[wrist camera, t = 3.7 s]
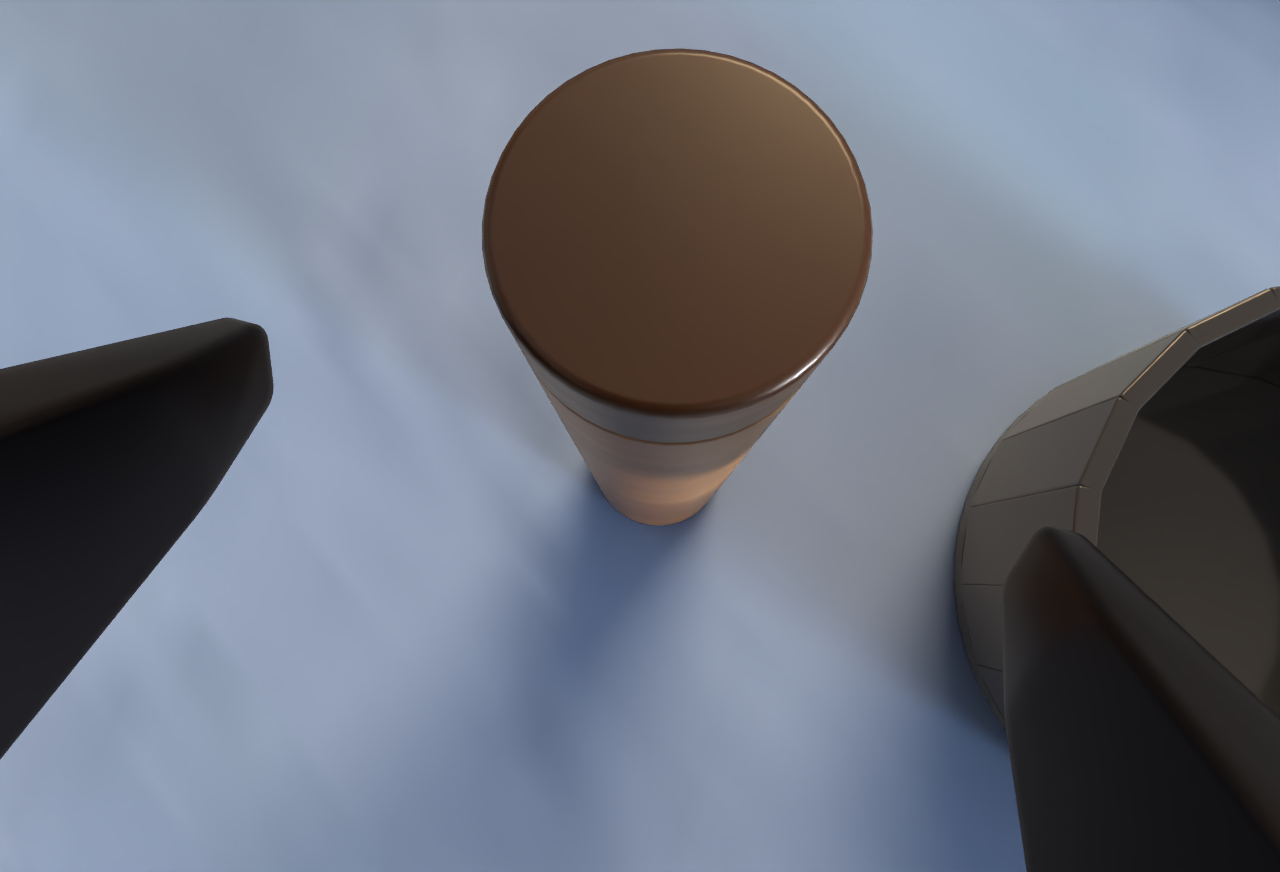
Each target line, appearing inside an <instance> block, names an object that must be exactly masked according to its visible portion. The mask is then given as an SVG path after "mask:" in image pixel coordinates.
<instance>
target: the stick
mask: <svg viewBox="0 0 1280 872" xmlns="http://www.w3.org/2000/svg"><path fill="white" fill-rule="evenodd" d="M872 236H873V230H872V219H871V208H870V204H869V200H868V195H867V191H866V187H865V183H864V180H863V178H862V175H861V173H860V170H859V167H858V165H857V162H856V159H855V157H854V156H853V154H852V152H851V150H850V148H849V146H848V145H847V143H846V141H845V139H844V137H843V136H842V135H841V133H840V132H839V131H838V129H837V128H836V126H835V125H834V124H833V122H832V121H831V120H830V118H829V117H828V116H827V115H826V114H825V113H824V112H823V111H822V110H821V109H820V108H819V107H818V106H817V105H816V104H815V102H814V101H812V100H811V99H810V98H809V97H808V96H806V95H805V94H804V93H803V92H801V91H800V90H799V89H798V88H796V87H795V86H794V85H792V84H791V83H789V82H787V81H786V80H784V79H783V78H781V77H780V76H778V75H776V74H775V73H773V72H771V71H769V70H766V69H764V68H762V67H760V66H758V65H756V64H754V63H751V62H748V61H745V60H742V59H739V58H736V57H733V56H730V55H725V54H720V53H715V52H710V51H705V50H692V49H660V50H651V51H645V52H639V53H632V54H629V55H625V56H622V57H618V58H615V59H611V60H608V61H606V62H604V63H601V64H599V65H597V66H594V67H592V68H589V69H587V70H585V71H584V72H582V73H580V74H578V75H577V76H575V77H573V78H571V79H570V80H568V81H566V82H565V83H563V84H562V85H561V86H559V87H558V88H557V89H555V90H554V91H553V92H551V93H550V94H549V95H547V96H546V97H545V98H544V99H543V100H542V101H541V102H540V103H539V104H538V105H537V106H536V107H535V108H534V109H533V110H532V111H531V112H530V113H529V114H528V116H527V117H526V118H525V119H524V121H523V122H522V123H521V124H520V126H519V127H518V128H517V129H516V131H515V132H514V134H513V135H512V137H511V139H510V140H509V142H508V144H507V145H506V147H505V149H504V151H503V152H502V154H501V156H500V159H499V161H498V163H497V166H496V168H495V170H494V173H493V175H492V177H491V181H490V185H489V188H488V192H487V195H486V199H485V205H484V213H483V220H482V250H483V257H484V264H485V271H486V275H487V278H488V282H489V285H490V289H491V292H492V295H493V298H494V300H495V302H496V304H497V306H498V309H499V311H500V313H501V315H502V318H503V319H504V321H505V323H506V325H507V326H508V328H509V330H510V332H511V333H512V335H513V337H514V339H515V340H516V342H517V344H518V346H519V347H520V349H521V351H522V353H523V354H524V356H525V358H526V359H527V361H528V363H529V365H530V367H531V368H532V370H533V372H534V374H535V375H536V377H537V379H538V380H539V382H540V384H541V386H542V387H543V389H544V391H545V393H546V394H547V396H548V398H549V400H550V401H551V403H552V405H553V407H554V408H555V410H556V412H557V414H558V415H559V417H560V419H561V421H562V422H563V424H564V426H565V428H566V429H567V431H568V433H569V435H570V436H571V438H572V440H573V442H574V443H575V445H576V447H577V449H578V450H579V452H580V454H581V456H582V457H583V459H584V461H585V463H586V464H587V466H588V468H589V469H590V471H591V473H592V475H593V476H594V478H595V480H596V482H597V483H598V485H599V487H600V489H601V490H602V492H603V494H604V495H605V497H606V499H607V500H608V501H609V502H610V504H611V505H612V506H613V507H614V508H615V509H616V510H617V511H618V512H620V513H621V514H623V515H624V516H626V517H627V518H629V519H631V520H633V521H636V522H639V523H642V524H647V525H655V526H659V525H670V524H674V523H678V522H681V521H683V520H685V519H687V518H689V517H691V516H692V515H694V514H696V513H697V512H698V511H699V510H700V509H702V508H703V506H704V505H705V504H706V503H707V502H708V501H709V500H710V498H711V497H712V496H713V495H714V493H715V492H716V491H717V490H718V488H719V487H720V486H721V485H722V484H723V482H724V481H725V480H726V479H727V477H728V476H729V475H730V474H731V472H732V471H733V470H734V469H735V467H736V466H737V465H738V464H739V463H740V461H741V460H742V459H743V458H744V456H745V455H746V454H747V453H748V451H749V450H750V449H751V448H752V446H753V445H754V444H755V443H756V442H757V440H758V439H759V438H760V437H761V435H762V434H763V433H764V432H765V430H766V429H767V428H768V427H769V426H770V424H771V423H772V422H773V421H774V419H775V418H776V417H777V416H778V414H779V413H780V412H781V411H782V409H783V408H784V407H785V406H786V405H787V403H788V402H789V401H790V400H791V398H792V397H793V396H794V395H795V393H796V392H797V391H798V390H799V388H800V387H801V386H802V385H803V383H804V382H805V381H806V380H807V379H808V377H809V376H810V375H811V374H812V372H813V371H814V370H815V369H816V367H817V366H818V365H819V364H820V363H821V361H822V360H823V359H824V358H825V356H826V355H827V354H828V353H829V351H830V350H831V349H832V348H833V346H834V345H835V344H836V342H837V341H838V339H839V338H840V336H841V335H842V334H843V332H844V331H845V329H846V328H847V326H848V324H849V322H850V321H851V319H852V317H853V315H854V313H855V311H856V309H857V307H858V305H859V302H860V299H861V296H862V293H863V290H864V288H865V285H866V282H867V277H868V272H869V267H870V262H871V257H872Z"/></svg>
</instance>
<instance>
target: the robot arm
mask: <svg viewBox="0 0 1280 872" xmlns="http://www.w3.org/2000/svg"><path fill="white" fill-rule="evenodd" d="M272 395H273V376H272V368H271V359H270V351H269V342H268V337H267V334H266V332H265V330H264V329H263V328H262V327H261V326H259V325H257V324H253V323H249V322H245V321H241V320H237V319H233V318H221V319H217V320H213V321H208V322H204V323H200V324H195V325H191V326H187V327H182V328H178V329H173V330H169V331H165V332H160V333H156V334H152V335H147V336H143V337H139V338H134V339H130V340H125V341H121V342H117V343H112V344H108V345H104V346H99V347H95V348H91V349H86V350H82V351H77V352H73V353H69V354H64V355H60V356H56V357H51V358H47V359H43V360H38V361H34V362H30V363H25V364H21V365H16V366H12V367H8V368H3V369H0V759H1V758H2V757H3V755H4V754H5V753H6V752H7V750H8V749H9V748H10V747H11V745H12V744H13V743H14V742H15V741H16V739H17V738H18V737H19V736H20V734H21V733H22V732H23V731H24V729H25V728H26V727H27V726H28V724H29V723H30V722H31V721H32V719H33V718H34V717H35V716H36V715H37V713H38V712H39V711H40V710H41V708H42V707H43V706H44V705H45V703H46V702H47V701H48V700H49V698H50V697H51V696H52V695H53V693H54V692H55V691H56V690H57V688H58V687H59V686H60V685H61V684H62V682H63V681H64V680H65V679H66V677H67V676H68V675H69V674H70V672H71V671H72V670H73V669H74V667H75V666H76V665H77V664H78V662H79V661H80V660H81V659H82V658H83V656H84V655H85V654H86V653H87V651H88V650H89V649H90V648H91V646H92V645H93V644H94V643H95V641H96V640H97V639H98V638H99V636H100V635H101V634H102V633H103V631H104V630H105V629H106V628H107V627H108V625H109V624H110V623H111V622H112V620H113V619H114V618H115V617H116V615H117V614H118V613H119V612H120V610H121V609H122V608H123V607H124V605H125V604H126V603H127V602H128V601H129V599H130V598H131V597H132V596H133V594H134V593H135V592H136V591H137V589H138V588H139V587H140V586H141V584H142V583H143V582H144V581H145V579H146V578H147V577H148V576H149V574H150V573H151V572H152V571H153V570H154V568H155V567H156V566H157V565H158V563H159V562H160V561H161V560H162V558H163V557H164V556H165V555H166V553H167V552H168V551H169V550H170V548H171V547H172V546H173V545H174V543H175V542H176V541H177V540H178V539H179V537H180V536H181V535H182V534H183V532H184V531H185V530H186V529H187V527H188V526H189V525H190V524H191V522H192V521H193V520H194V519H195V517H196V516H197V515H198V513H199V512H200V511H201V509H202V508H203V507H204V505H205V504H206V503H207V501H208V500H209V498H210V497H211V496H212V494H213V493H214V491H215V490H216V488H217V487H218V485H219V484H220V482H221V480H222V479H223V477H224V476H225V474H226V472H227V471H228V469H229V468H230V466H231V465H232V463H233V461H234V460H235V458H236V457H237V455H238V454H239V452H240V450H241V449H242V447H243V446H244V444H245V442H246V441H247V439H248V438H249V436H250V435H251V433H252V431H253V430H254V428H255V427H256V425H257V423H258V422H259V420H260V419H261V417H262V416H263V414H264V412H265V411H266V409H267V408H268V406H269V404H270V401H271V399H272ZM1002 628H1003V677H1004V707H1005V721H1006V730H1007V738H1008V745H1009V752H1010V759H1011V766H1012V773H1013V780H1014V787H1015V794H1016V800H1017V807H1018V814H1019V821H1020V828H1021V835H1022V842H1023V849H1024V856H1025V863H1026V870H1027V872H1280V718H1279V717H1278V716H1277V715H1276V714H1275V713H1274V712H1273V711H1272V710H1271V709H1270V708H1269V707H1268V706H1267V705H1265V704H1264V703H1263V702H1262V701H1261V700H1260V699H1259V698H1258V697H1257V696H1256V695H1255V694H1254V693H1253V692H1251V691H1250V690H1249V689H1248V688H1247V687H1246V686H1245V685H1244V684H1243V683H1242V682H1241V681H1240V680H1239V679H1237V678H1236V677H1235V676H1234V675H1233V674H1232V673H1231V672H1230V671H1229V670H1228V669H1227V668H1226V667H1225V666H1223V665H1222V664H1221V663H1220V662H1219V661H1218V660H1217V659H1216V658H1215V657H1214V656H1213V655H1212V654H1211V653H1209V652H1208V651H1207V650H1206V649H1205V648H1204V647H1203V646H1202V645H1201V644H1200V643H1199V642H1198V641H1197V640H1196V639H1194V638H1193V637H1192V636H1191V635H1190V634H1189V633H1188V632H1187V631H1186V630H1185V629H1184V628H1183V627H1182V626H1180V625H1179V624H1178V623H1177V622H1176V621H1175V620H1174V619H1173V618H1172V617H1171V616H1170V615H1169V614H1168V613H1166V612H1165V611H1164V610H1163V609H1162V608H1161V607H1160V606H1159V605H1158V604H1157V603H1156V602H1155V601H1154V600H1153V599H1151V598H1150V597H1149V596H1148V595H1147V594H1146V593H1145V592H1144V591H1143V590H1142V589H1141V588H1140V587H1139V586H1137V585H1136V584H1135V583H1134V582H1133V581H1132V580H1131V579H1130V578H1129V577H1128V576H1127V575H1126V574H1125V573H1124V572H1122V571H1121V570H1120V569H1119V568H1118V567H1117V566H1116V565H1115V564H1114V563H1113V562H1112V561H1111V560H1110V559H1108V558H1107V557H1106V556H1105V555H1104V554H1103V553H1102V552H1101V551H1100V550H1099V549H1098V548H1097V547H1096V546H1094V545H1093V544H1092V543H1091V542H1090V541H1089V540H1088V539H1087V538H1086V537H1085V536H1083V535H1082V534H1079V533H1077V532H1073V531H1069V530H1065V529H1061V528H1057V527H1053V526H1048V525H1047V526H1043V527H1040V528H1039V529H1038V530H1036V531H1035V533H1034V534H1033V535H1032V537H1031V538H1030V540H1029V541H1028V543H1027V545H1026V546H1025V548H1024V549H1023V551H1022V552H1021V554H1020V556H1019V557H1018V559H1017V560H1016V562H1015V563H1014V565H1013V567H1012V568H1011V570H1010V571H1009V573H1008V575H1007V577H1006V579H1005V582H1004V585H1003V590H1002Z"/></svg>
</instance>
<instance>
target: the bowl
mask: <svg viewBox="0 0 1280 872" xmlns="http://www.w3.org/2000/svg"><path fill="white" fill-rule="evenodd" d="M1047 525H1048V526H1053V527H1057V528H1061V529H1065V530H1069V531H1073V532H1077V533H1079V534H1082V535H1083V536H1085V537H1086V538H1087V539H1088V540H1089V541H1090V542H1091V543H1092V544H1093V545H1094V546H1096V547H1097V548H1098V549H1099V550H1100V551H1101V552H1102V553H1103V554H1104V555H1105V556H1106V557H1107V558H1108V559H1110V560H1111V561H1112V562H1113V563H1114V564H1115V565H1116V566H1117V567H1118V568H1119V569H1120V570H1121V571H1122V572H1124V573H1125V574H1126V575H1127V576H1128V577H1129V578H1130V579H1131V580H1132V581H1133V582H1134V583H1135V584H1136V585H1137V586H1139V587H1140V588H1141V589H1142V590H1143V591H1144V592H1145V593H1146V594H1147V595H1148V596H1149V597H1150V598H1151V599H1153V600H1154V601H1155V602H1156V603H1157V604H1158V605H1159V606H1160V607H1161V608H1162V609H1163V610H1164V611H1165V612H1166V613H1168V614H1169V615H1170V616H1171V617H1172V618H1173V619H1174V620H1175V621H1176V622H1177V623H1178V624H1179V625H1180V626H1182V627H1183V628H1184V629H1185V630H1186V631H1187V632H1188V633H1189V634H1190V635H1191V636H1192V637H1193V638H1194V639H1196V640H1197V641H1198V642H1199V643H1200V644H1201V645H1202V646H1203V647H1204V648H1205V649H1206V650H1207V651H1208V652H1209V653H1211V654H1212V655H1213V656H1214V657H1215V658H1216V659H1217V660H1218V661H1219V662H1220V663H1221V664H1222V665H1223V666H1225V667H1226V668H1227V669H1228V670H1229V671H1230V672H1231V673H1232V674H1233V675H1234V676H1235V677H1236V678H1237V679H1239V680H1240V681H1241V682H1242V683H1243V684H1244V685H1245V686H1246V687H1247V688H1248V689H1249V690H1250V691H1251V692H1253V693H1254V694H1255V695H1256V696H1257V697H1258V698H1259V699H1260V700H1261V701H1262V702H1263V703H1264V704H1265V705H1267V706H1268V707H1269V708H1270V709H1271V710H1272V711H1273V712H1274V713H1275V714H1276V715H1277V716H1278V717H1279V718H1280V286H1279V287H1272V288H1269V289H1265V290H1263V291H1261V292H1259V293H1257V294H1254V295H1252V296H1250V297H1248V298H1246V299H1244V300H1241V301H1239V302H1237V303H1235V304H1233V305H1231V306H1228V307H1226V308H1224V309H1222V310H1220V311H1218V312H1215V313H1213V314H1211V315H1209V316H1207V317H1205V318H1202V319H1200V320H1198V321H1196V322H1194V323H1192V324H1189V325H1187V326H1185V327H1183V328H1181V329H1179V330H1176V331H1174V332H1172V333H1170V334H1168V335H1166V336H1163V337H1161V338H1159V339H1157V340H1155V341H1153V342H1150V343H1148V344H1146V345H1144V346H1142V347H1140V348H1137V349H1135V350H1133V351H1131V352H1129V353H1127V354H1124V355H1122V356H1120V357H1118V358H1116V359H1114V360H1112V361H1110V362H1108V363H1105V364H1103V365H1101V366H1099V367H1097V368H1095V369H1093V370H1091V371H1089V372H1087V373H1085V374H1083V375H1081V376H1078V377H1076V378H1074V379H1072V380H1070V381H1068V382H1066V383H1064V384H1062V385H1060V386H1058V387H1056V388H1054V389H1053V390H1051V391H1050V392H1049V393H1048V394H1047V395H1045V396H1044V397H1042V398H1041V399H1039V400H1038V401H1037V402H1035V403H1034V404H1033V405H1032V406H1031V407H1030V408H1028V409H1027V410H1026V411H1025V412H1024V413H1023V414H1022V415H1020V416H1019V417H1018V418H1017V419H1016V420H1015V421H1014V422H1013V423H1012V425H1011V426H1010V427H1009V428H1008V429H1007V430H1006V432H1005V433H1004V434H1003V435H1002V436H1001V437H1000V438H999V440H998V441H997V442H996V444H995V445H994V447H993V448H992V450H991V452H990V453H989V455H988V456H987V458H986V459H985V461H984V462H983V464H982V465H981V468H980V470H979V472H978V474H977V476H976V478H975V480H974V483H973V485H972V487H971V489H970V491H969V494H968V497H967V500H966V504H965V507H964V510H963V513H962V517H961V520H960V525H959V531H958V537H957V543H956V549H955V571H954V588H955V598H956V607H957V617H958V621H959V625H960V630H961V634H962V638H963V643H964V647H965V650H966V653H967V656H968V658H969V661H970V664H971V666H972V669H973V672H974V675H975V677H976V680H977V682H978V684H979V686H980V688H981V690H982V692H983V694H984V696H985V698H986V700H987V702H988V704H989V705H990V707H991V709H992V711H993V713H994V714H995V716H996V717H997V718H998V720H999V721H1000V723H1001V724H1002V726H1003V727H1004V729H1005V730H1006V721H1005V707H1004V677H1003V628H1002V590H1003V585H1004V582H1005V579H1006V577H1007V575H1008V573H1009V571H1010V570H1011V568H1012V567H1013V565H1014V563H1015V562H1016V560H1017V559H1018V557H1019V556H1020V554H1021V552H1022V551H1023V549H1024V548H1025V546H1026V545H1027V543H1028V541H1029V540H1030V538H1031V537H1032V535H1033V534H1034V533H1035V531H1036V530H1038V529H1039V528H1040V527H1043V526H1047ZM1006 732H1007V730H1006Z"/></svg>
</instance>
